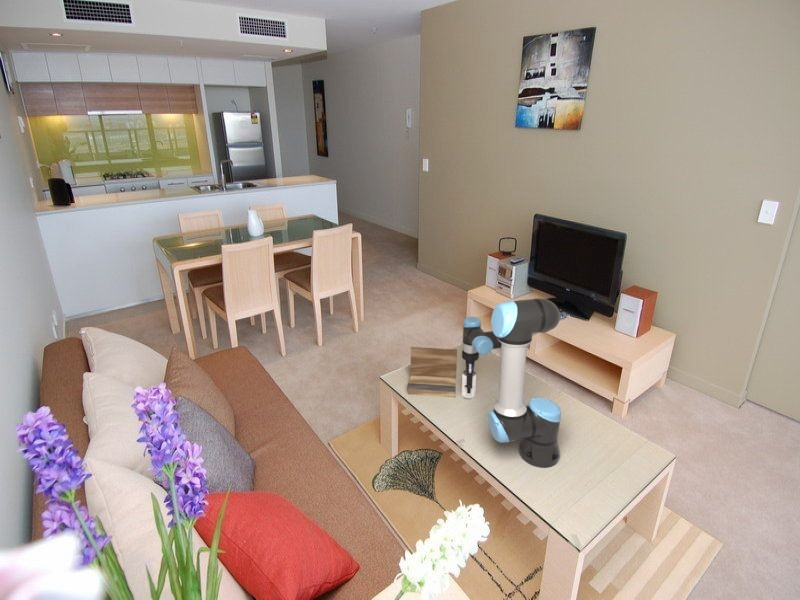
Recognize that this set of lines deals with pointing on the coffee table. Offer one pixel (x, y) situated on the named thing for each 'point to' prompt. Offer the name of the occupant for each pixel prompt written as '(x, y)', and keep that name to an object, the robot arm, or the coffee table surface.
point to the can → (464, 382)
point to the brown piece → (433, 372)
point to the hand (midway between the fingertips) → (468, 393)
